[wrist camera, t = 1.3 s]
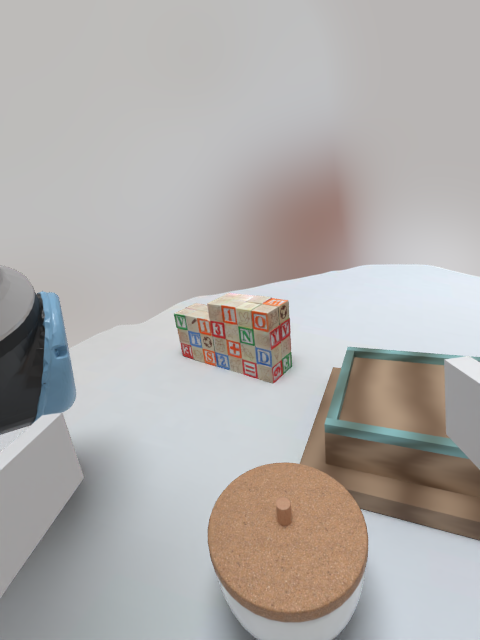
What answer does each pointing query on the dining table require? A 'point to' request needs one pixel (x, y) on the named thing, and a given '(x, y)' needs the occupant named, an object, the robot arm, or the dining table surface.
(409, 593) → the dining table surface
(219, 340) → the stack of blocks
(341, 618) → the lidded jar
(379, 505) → the base
